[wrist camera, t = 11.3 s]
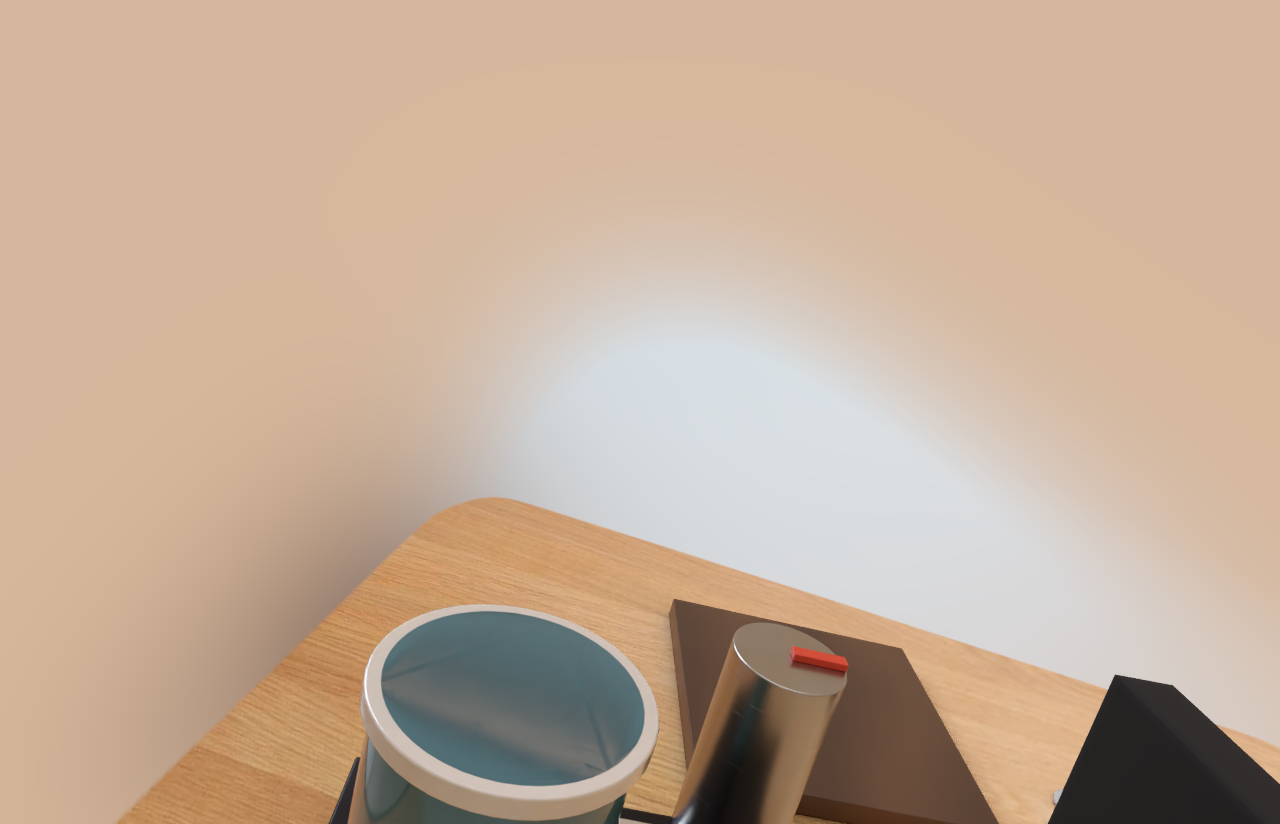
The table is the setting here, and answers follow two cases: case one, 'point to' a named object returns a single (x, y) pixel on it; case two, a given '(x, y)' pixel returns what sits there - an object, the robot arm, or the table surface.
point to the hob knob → (762, 728)
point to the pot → (500, 722)
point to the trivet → (846, 728)
